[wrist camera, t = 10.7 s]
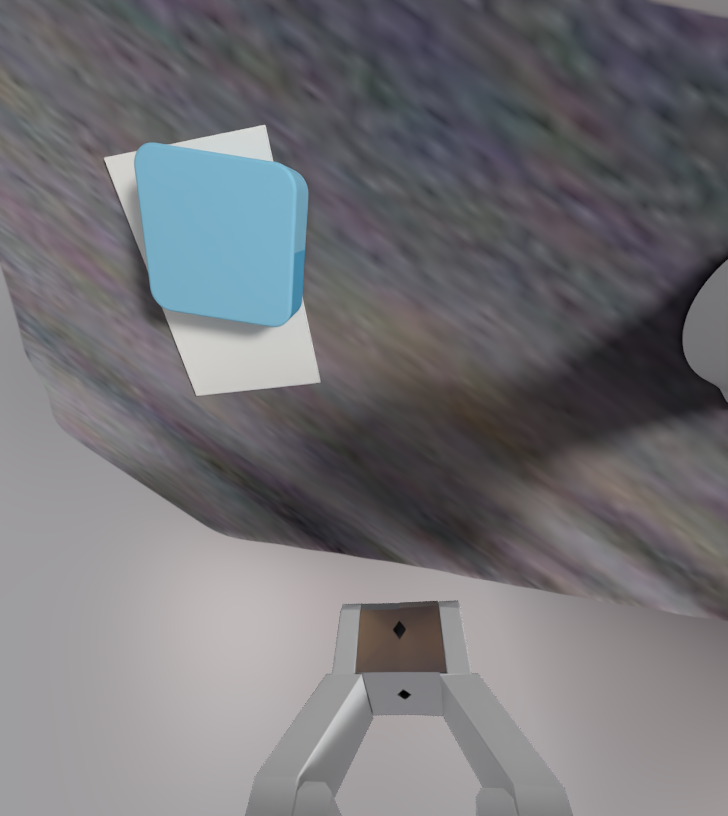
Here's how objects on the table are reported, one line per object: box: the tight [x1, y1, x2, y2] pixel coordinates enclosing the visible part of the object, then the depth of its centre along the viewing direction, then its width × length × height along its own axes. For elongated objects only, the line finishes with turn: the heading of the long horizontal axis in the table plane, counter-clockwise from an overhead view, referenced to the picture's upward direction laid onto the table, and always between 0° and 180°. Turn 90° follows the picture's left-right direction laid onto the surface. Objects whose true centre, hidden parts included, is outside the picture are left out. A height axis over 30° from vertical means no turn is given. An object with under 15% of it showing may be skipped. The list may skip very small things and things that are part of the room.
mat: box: [104, 125, 321, 396], centre depth 34 cm, size 14×22×1 cm, turn 8°
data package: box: [134, 143, 308, 327], centre depth 30 cm, size 12×4×12 cm
